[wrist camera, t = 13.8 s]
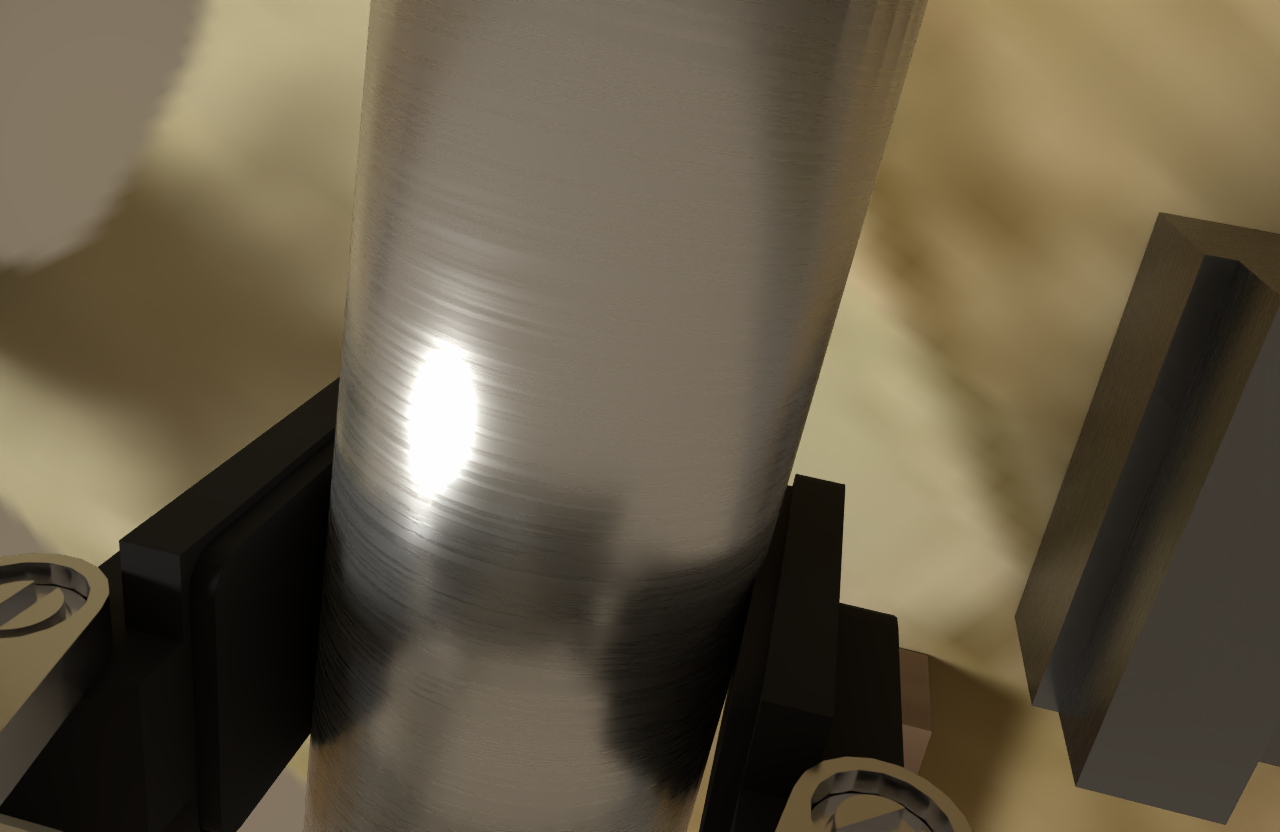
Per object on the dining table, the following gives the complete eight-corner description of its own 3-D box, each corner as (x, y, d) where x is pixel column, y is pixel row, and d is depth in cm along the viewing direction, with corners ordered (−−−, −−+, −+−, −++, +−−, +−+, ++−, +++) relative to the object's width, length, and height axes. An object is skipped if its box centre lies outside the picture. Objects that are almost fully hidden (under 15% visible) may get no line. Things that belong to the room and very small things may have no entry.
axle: (726, 933, 12) (430, 1160, 9) (516, 722, 14) (231, 853, 12) (1028, 19, 8) (654, -61, 5) (661, -60, 10) (274, -143, 7)
